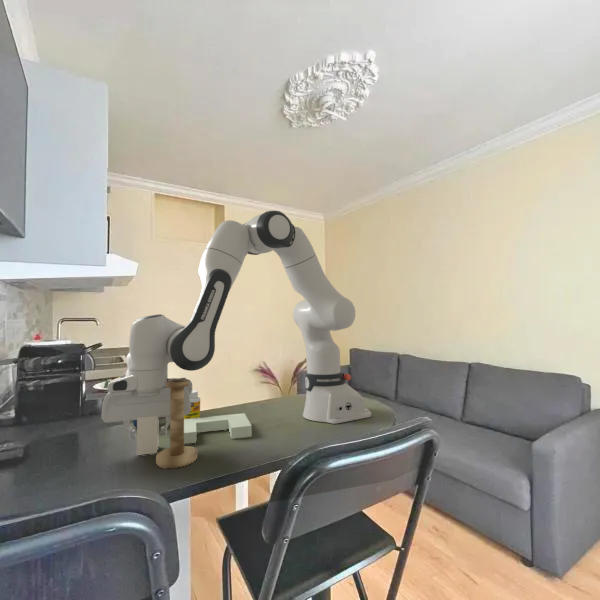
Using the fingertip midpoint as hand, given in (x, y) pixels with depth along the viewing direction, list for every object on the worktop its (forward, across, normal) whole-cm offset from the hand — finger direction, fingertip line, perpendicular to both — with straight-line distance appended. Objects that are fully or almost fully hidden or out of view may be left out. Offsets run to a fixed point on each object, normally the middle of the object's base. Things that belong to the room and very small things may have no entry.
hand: (148, 436), depth 85 cm
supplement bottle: (+4, -10, -18) cm, 21 cm away
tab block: (+4, 0, 0) cm, 4 cm away
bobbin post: (+4, -7, +8) cm, 11 cm away
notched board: (+4, -16, -8) cm, 18 cm away
